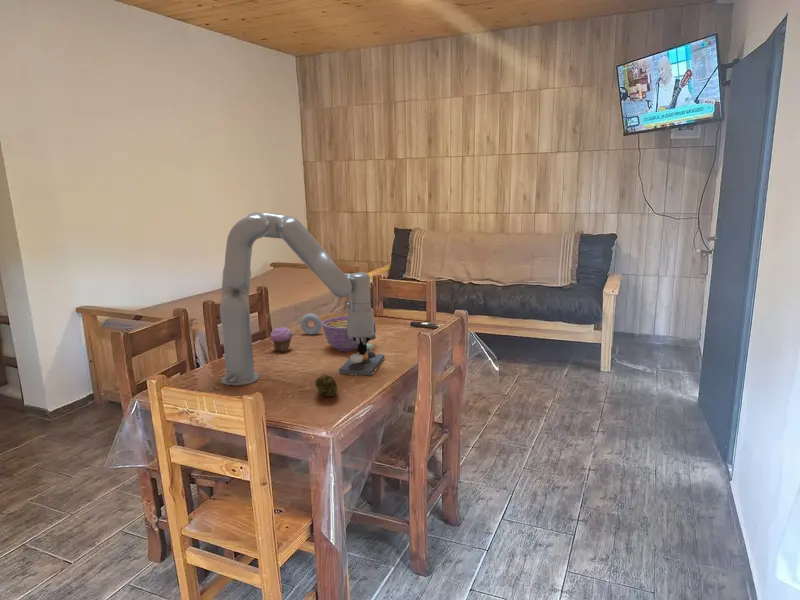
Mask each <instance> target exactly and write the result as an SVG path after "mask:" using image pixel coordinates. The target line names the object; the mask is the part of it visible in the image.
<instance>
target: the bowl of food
mask: <svg viewBox="0 0 800 600" xmlns="http://www.w3.org/2000/svg"><path fill="white" fill-rule="evenodd" d="M347 317H348V315H344V316H343V315H342V316H335V317H330V318H327V319H324V320H323V321H321V322H322V328H323V332H324V336H325V339H326V340H327V344H328V345H329V346H330V347H332V348H333V349H336V350H337V351H339V350H340V352H352V351H351V350H353V351H356V350H358V344H357V343H356V342H355V341H354V340H353V339H349V338H348V335H347ZM361 340H362V342H363V338H361ZM355 349H356V350H355Z"/></svg>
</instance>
